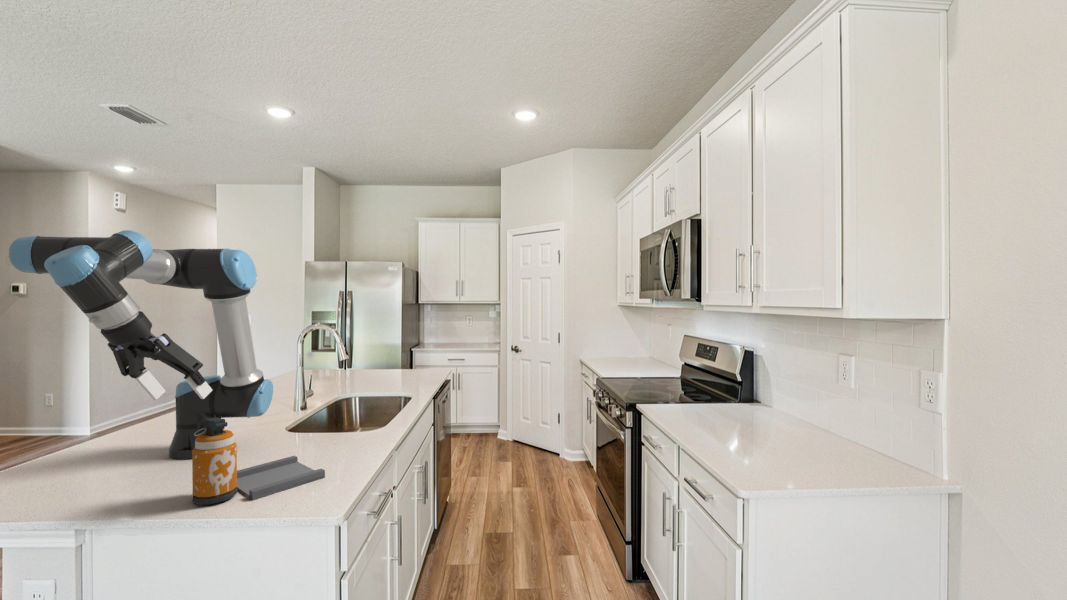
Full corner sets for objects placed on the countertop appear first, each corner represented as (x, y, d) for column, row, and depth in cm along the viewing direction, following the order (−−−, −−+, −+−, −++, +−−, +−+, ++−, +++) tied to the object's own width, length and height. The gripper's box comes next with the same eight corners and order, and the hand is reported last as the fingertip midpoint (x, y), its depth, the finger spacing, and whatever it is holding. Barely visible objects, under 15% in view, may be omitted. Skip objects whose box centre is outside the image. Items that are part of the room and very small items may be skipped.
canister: (203, 510, 108) (202, 424, 108) (181, 499, 114) (181, 417, 114) (244, 496, 116) (243, 415, 115) (222, 486, 121) (221, 409, 121)
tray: (225, 481, 125) (225, 473, 125) (294, 462, 139) (294, 455, 139) (252, 500, 113) (252, 492, 113) (324, 477, 127) (324, 470, 127)
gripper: (57, 334, 94) (127, 407, 106) (152, 328, 88) (215, 407, 99) (92, 312, 100) (154, 384, 112) (183, 305, 94) (239, 382, 105)
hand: (183, 395), depth 106 cm, fingers open, 13 cm apart
